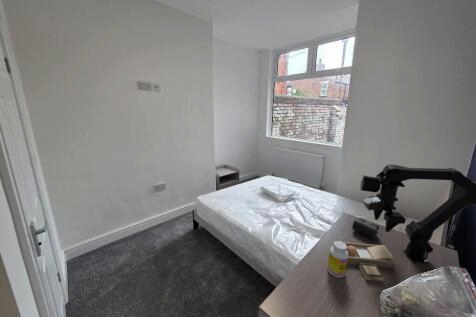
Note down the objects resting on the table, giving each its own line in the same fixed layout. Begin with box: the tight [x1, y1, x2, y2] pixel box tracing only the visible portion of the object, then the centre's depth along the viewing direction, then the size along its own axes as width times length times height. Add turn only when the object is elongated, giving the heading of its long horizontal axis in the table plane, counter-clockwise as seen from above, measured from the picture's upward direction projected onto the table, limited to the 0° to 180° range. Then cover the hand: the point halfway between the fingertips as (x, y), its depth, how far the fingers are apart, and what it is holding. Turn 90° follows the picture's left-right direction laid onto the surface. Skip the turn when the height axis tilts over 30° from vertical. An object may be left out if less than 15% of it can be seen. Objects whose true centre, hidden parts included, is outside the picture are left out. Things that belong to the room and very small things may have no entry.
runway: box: [336, 237, 397, 269], centre depth 87 cm, size 19×10×5 cm, turn 81°
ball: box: [347, 246, 357, 257], centre depth 88 cm, size 4×4×4 cm
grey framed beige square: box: [358, 263, 384, 282], centre depth 79 cm, size 6×6×2 cm
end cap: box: [351, 218, 380, 241], centre depth 102 cm, size 10×7×7 cm
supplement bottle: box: [326, 240, 349, 279], centre depth 79 cm, size 7×7×13 cm
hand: (381, 225), depth 90 cm, fingers open, 9 cm apart
